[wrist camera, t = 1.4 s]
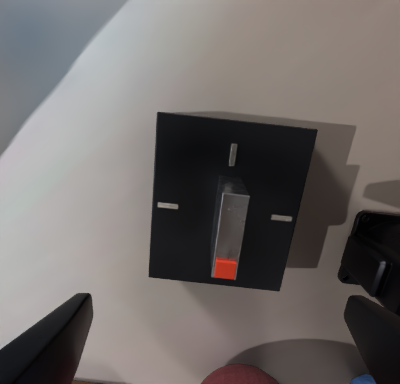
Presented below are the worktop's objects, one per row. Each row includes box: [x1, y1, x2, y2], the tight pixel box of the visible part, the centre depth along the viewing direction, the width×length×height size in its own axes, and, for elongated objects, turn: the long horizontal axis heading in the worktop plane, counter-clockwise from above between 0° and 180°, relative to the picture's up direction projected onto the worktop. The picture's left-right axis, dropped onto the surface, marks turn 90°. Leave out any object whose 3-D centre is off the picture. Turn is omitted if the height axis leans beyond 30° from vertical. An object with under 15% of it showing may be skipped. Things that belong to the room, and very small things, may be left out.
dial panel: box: [149, 112, 318, 291], centre depth 19 cm, size 10×12×3 cm
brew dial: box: [210, 175, 250, 280], centre depth 15 cm, size 5×1×4 cm, turn 174°
